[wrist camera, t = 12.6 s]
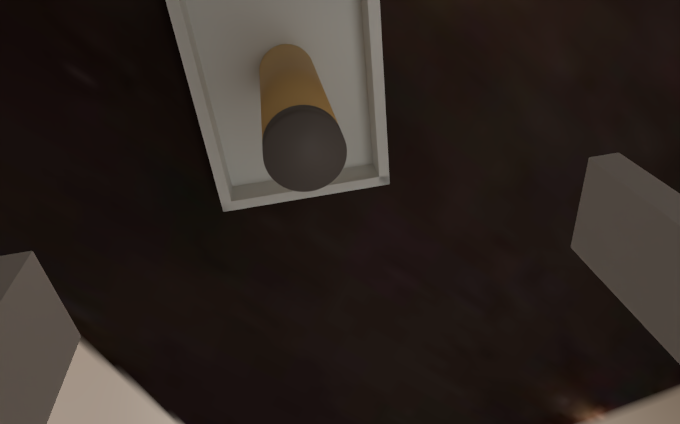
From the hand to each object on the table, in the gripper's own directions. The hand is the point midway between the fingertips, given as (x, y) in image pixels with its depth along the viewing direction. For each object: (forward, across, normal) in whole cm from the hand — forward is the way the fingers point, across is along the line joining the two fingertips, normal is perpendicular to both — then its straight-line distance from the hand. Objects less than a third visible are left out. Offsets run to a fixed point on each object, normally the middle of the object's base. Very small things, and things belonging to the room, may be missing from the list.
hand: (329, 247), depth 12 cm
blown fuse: (+17, 0, -1) cm, 17 cm away
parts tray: (+18, 0, -1) cm, 18 cm away
